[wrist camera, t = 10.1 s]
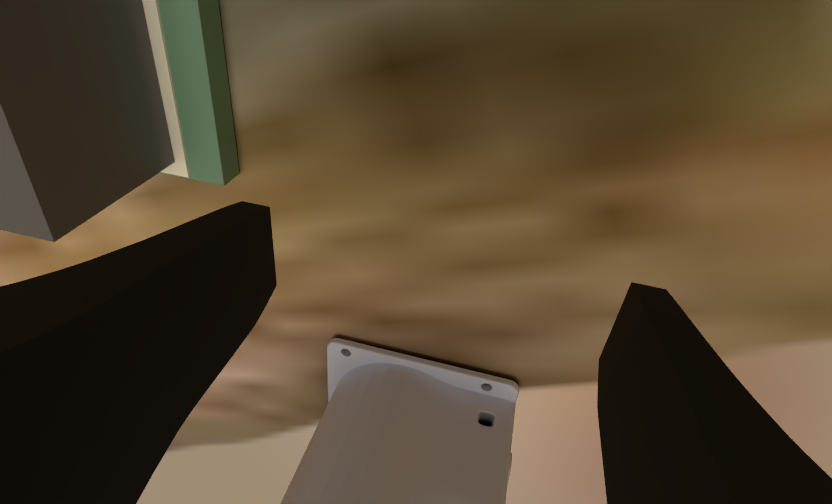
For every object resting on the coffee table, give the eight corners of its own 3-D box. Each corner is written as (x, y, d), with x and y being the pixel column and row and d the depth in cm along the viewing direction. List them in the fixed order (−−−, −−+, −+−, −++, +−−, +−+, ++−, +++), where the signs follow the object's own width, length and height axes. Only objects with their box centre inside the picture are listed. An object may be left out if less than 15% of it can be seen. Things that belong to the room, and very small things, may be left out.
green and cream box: (203, -119, 16) (86, -126, 12) (239, 173, 22) (168, 232, 18) (-17, -144, 17) (-188, -158, 13) (73, 140, 23) (-28, 188, 19)
